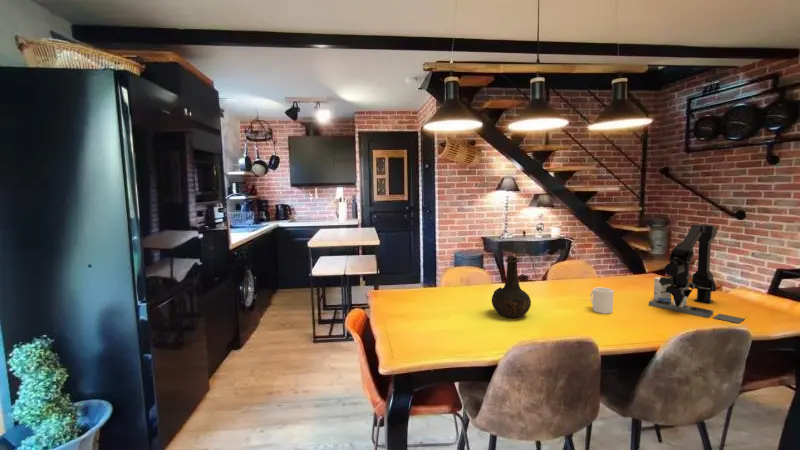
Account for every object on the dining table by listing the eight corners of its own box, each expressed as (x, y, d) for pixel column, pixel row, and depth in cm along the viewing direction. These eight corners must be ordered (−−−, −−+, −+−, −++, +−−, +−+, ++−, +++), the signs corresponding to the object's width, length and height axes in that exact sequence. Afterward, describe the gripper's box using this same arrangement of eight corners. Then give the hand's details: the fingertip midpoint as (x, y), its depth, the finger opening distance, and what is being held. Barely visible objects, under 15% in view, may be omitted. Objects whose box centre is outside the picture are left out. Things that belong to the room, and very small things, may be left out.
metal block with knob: (676, 308, 187) (676, 292, 187) (686, 310, 184) (687, 294, 183) (672, 309, 185) (673, 294, 184) (682, 312, 181) (683, 296, 181)
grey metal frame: (654, 302, 196) (654, 299, 196) (712, 314, 177) (713, 310, 176) (648, 305, 192) (648, 301, 192) (707, 317, 173) (708, 313, 172)
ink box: (671, 303, 194) (672, 281, 193) (660, 303, 195) (661, 280, 194) (663, 299, 203) (664, 277, 202) (653, 298, 204) (654, 276, 203)
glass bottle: (503, 306, 193) (504, 251, 191) (537, 314, 180) (538, 255, 178) (484, 315, 181) (484, 256, 178) (518, 324, 168) (519, 261, 165)
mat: (719, 314, 177) (719, 313, 177) (744, 319, 170) (744, 318, 170) (712, 318, 172) (712, 317, 172) (738, 323, 165) (738, 322, 165)
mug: (597, 305, 192) (598, 285, 191) (617, 313, 181) (617, 291, 180) (583, 307, 190) (583, 286, 189) (601, 315, 179) (602, 292, 178)
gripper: (669, 267, 195) (668, 298, 196) (654, 272, 184) (652, 304, 185) (696, 271, 186) (694, 303, 187) (681, 277, 175) (679, 310, 176)
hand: (679, 305), depth 184 cm, fingers open, 6 cm apart
